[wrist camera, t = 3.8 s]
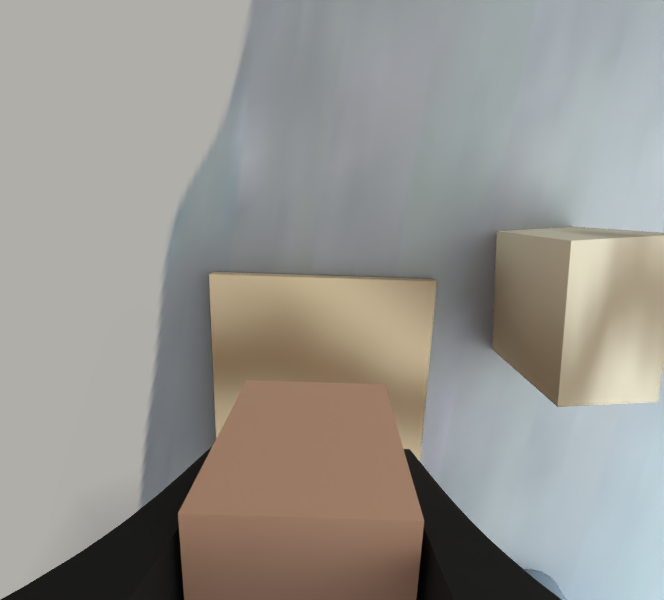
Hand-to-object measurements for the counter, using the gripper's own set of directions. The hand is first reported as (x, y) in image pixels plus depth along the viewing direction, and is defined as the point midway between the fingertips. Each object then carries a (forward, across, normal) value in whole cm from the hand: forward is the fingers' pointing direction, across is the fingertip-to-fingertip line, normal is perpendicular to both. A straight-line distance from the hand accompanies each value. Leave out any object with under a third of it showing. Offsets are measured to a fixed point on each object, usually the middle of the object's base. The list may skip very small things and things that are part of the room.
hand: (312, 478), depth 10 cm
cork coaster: (+6, 0, 0) cm, 6 cm away
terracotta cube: (+1, 0, 0) cm, 1 cm away
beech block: (+4, -7, -4) cm, 9 cm away
